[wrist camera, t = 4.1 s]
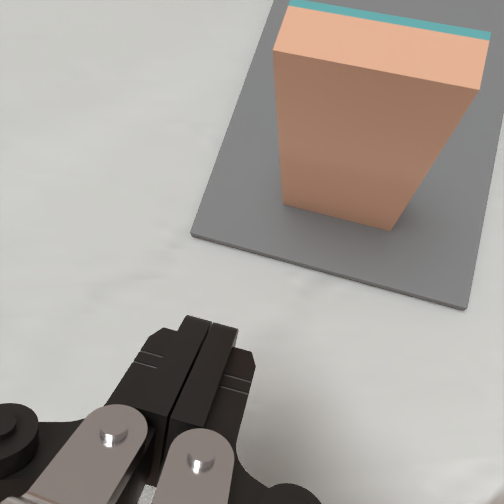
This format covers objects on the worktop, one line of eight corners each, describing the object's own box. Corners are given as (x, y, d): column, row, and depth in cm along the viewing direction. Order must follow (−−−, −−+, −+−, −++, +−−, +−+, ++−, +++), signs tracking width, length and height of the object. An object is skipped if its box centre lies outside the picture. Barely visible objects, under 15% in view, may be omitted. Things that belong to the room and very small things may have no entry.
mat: (192, 236, 25) (190, 232, 25) (304, -76, 31) (304, -85, 31) (463, 310, 23) (467, 308, 22) (529, -44, 29) (534, -53, 28)
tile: (282, 204, 25) (272, 50, 13) (292, 172, 25) (291, -2, 14) (390, 231, 24) (479, 89, 12) (398, 197, 24) (491, 32, 13)
